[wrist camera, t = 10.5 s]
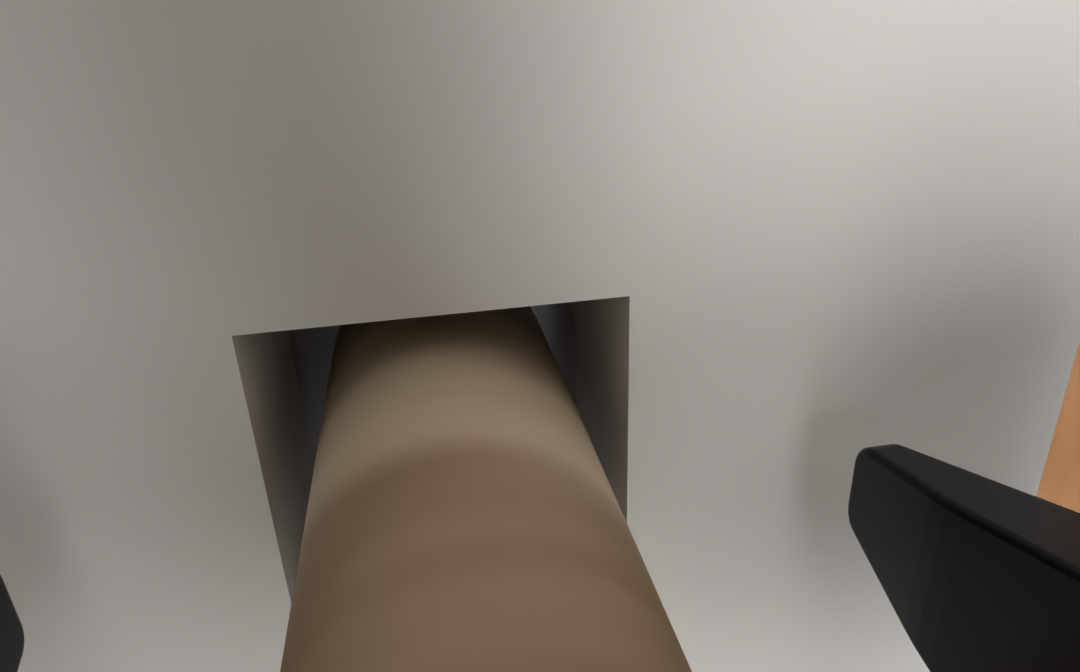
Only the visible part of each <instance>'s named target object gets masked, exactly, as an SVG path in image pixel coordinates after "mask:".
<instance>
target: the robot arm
mask: <svg viewBox="0 0 1080 672" xmlns="http://www.w3.org/2000/svg"><path fill="white" fill-rule="evenodd" d="M848 516H849V522H850V525H851V528H852V530H853V532H854V534H855V536H856V538H857V540H858V542H859V544H860V545H861V547H862V549H863V551H864V553H865V555H866V557H867V559H868V561H869V563H870V565H871V566H872V568H873V570H874V572H875V574H876V576H877V578H878V580H879V582H880V584H881V586H882V587H883V589H884V591H885V593H886V595H887V597H888V599H889V601H890V603H891V605H892V607H893V608H894V610H895V612H896V614H897V616H898V618H899V620H900V622H901V624H902V626H903V628H904V629H905V631H906V633H907V635H908V636H909V638H910V640H911V642H912V643H913V645H914V647H915V649H916V650H917V652H918V653H919V655H920V657H921V658H922V660H923V661H924V663H925V665H926V666H927V668H928V669H929V671H930V672H1080V513H1078V512H1075V511H1073V510H1070V509H1067V508H1065V507H1062V506H1059V505H1057V504H1054V503H1052V502H1049V501H1046V500H1044V499H1041V498H1038V497H1036V496H1033V495H1030V494H1028V493H1025V492H1023V491H1020V490H1017V489H1015V488H1012V487H1009V486H1007V485H1004V484H1002V483H999V482H996V481H994V480H991V479H988V478H986V477H983V476H981V475H978V474H975V473H973V472H970V471H967V470H965V469H962V468H960V467H957V466H954V465H952V464H949V463H946V462H944V461H941V460H938V459H936V458H933V457H931V456H928V455H925V454H923V453H920V452H917V451H915V450H912V449H910V448H907V447H904V446H902V445H898V444H887V445H880V446H873V447H866V448H864V449H862V450H861V451H860V452H859V453H858V455H857V456H856V460H855V465H854V472H853V478H852V484H851V491H850V497H849V504H848ZM23 650H24V631H23V627H22V624H21V621H20V619H19V617H18V614H17V612H16V609H15V607H14V605H13V602H12V600H11V597H10V595H9V593H8V590H7V588H6V586H5V583H4V581H3V578H2V577H1V575H0V672H17V671H18V668H19V665H20V662H21V658H22V655H23Z"/></svg>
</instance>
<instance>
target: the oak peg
mask: <svg viewBox="0 0 1080 672" xmlns="http://www.w3.org/2000/svg"><path fill="white" fill-rule="evenodd" d="M280 672H692V671H691V668H690V666H689V664H688V662H687V659H686V657H685V655H684V652H683V650H682V648H681V646H680V643H679V641H678V639H677V637H676V634H675V632H674V630H673V627H672V625H671V623H670V621H669V618H668V616H667V614H666V611H665V609H664V607H663V605H662V602H661V600H660V598H659V595H658V593H657V591H656V589H655V586H654V584H653V582H652V579H651V577H650V575H649V573H648V570H647V568H646V566H645V564H644V561H643V559H642V557H641V554H640V552H639V550H638V548H637V545H636V543H635V541H634V538H633V536H632V534H631V532H630V529H629V527H628V525H627V522H626V520H625V518H624V516H623V513H622V511H621V509H620V506H619V504H618V502H617V500H616V497H615V495H614V493H613V491H612V488H611V486H610V484H609V481H608V479H607V477H606V475H605V472H604V470H603V468H602V465H601V463H600V461H599V459H598V456H597V454H596V452H595V449H594V447H593V445H592V443H591V440H590V438H589V436H588V433H587V431H586V429H585V427H584V424H583V422H582V420H581V418H580V415H579V413H578V411H577V408H576V406H575V404H574V402H573V399H572V397H571V395H570V392H569V390H568V388H567V386H566V383H565V381H564V379H563V376H562V374H561V372H560V370H559V367H558V365H557V363H556V360H555V358H554V356H553V354H552V351H551V349H550V347H549V345H548V342H547V340H546V338H545V335H544V333H543V331H542V329H541V326H540V324H539V322H538V319H537V317H536V315H535V314H534V312H533V310H532V309H531V307H530V306H526V307H516V308H506V309H496V310H486V311H476V312H466V313H456V314H446V315H436V316H426V317H416V318H406V319H396V320H386V321H376V322H366V323H356V324H346V325H341V326H340V329H339V331H338V334H337V337H336V341H335V346H334V351H333V357H332V363H331V369H330V375H329V381H328V387H327V393H326V399H325V405H324V411H323V417H322V423H321V429H320V435H319V441H318V447H317V453H316V459H315V465H314V471H313V477H312V483H311V489H310V495H309V501H308V507H307V513H306V519H305V525H304V531H303V537H302V543H301V549H300V555H299V561H298V567H297V573H296V579H295V585H294V591H293V597H292V603H291V609H290V615H289V621H288V627H287V633H286V639H285V645H284V651H283V657H282V663H281V669H280Z"/></svg>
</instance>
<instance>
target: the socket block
mask: <svg viewBox="0 0 1080 672" xmlns="http://www.w3.org/2000/svg"><path fill="white" fill-rule="evenodd" d="M526 306H530V307H531V309H532V310H533V312H534V314H535V315H536V317H537V319H538V322H539V324H540V326H541V329H542V331H543V333H544V335H545V338H546V340H547V342H548V345H549V347H550V349H551V351H552V354H553V356H554V358H555V360H556V363H557V365H558V367H559V370H560V372H561V374H562V376H563V379H564V381H565V383H566V386H567V388H568V390H569V392H570V395H571V397H572V399H573V402H574V404H575V406H576V408H577V411H578V413H579V415H580V418H581V420H582V422H583V424H584V427H585V429H586V431H587V433H588V436H589V438H590V440H591V443H592V445H593V447H594V449H595V452H596V454H597V456H598V459H599V461H600V463H601V465H602V468H603V470H604V472H605V475H606V477H607V479H608V481H609V484H610V486H611V488H612V491H613V493H614V495H615V497H616V500H617V502H618V504H619V506H620V509H621V511H622V513H623V516H624V518H625V520H626V522H627V525H628V527H629V529H630V532H631V534H632V536H633V538H634V541H635V543H636V545H637V548H638V550H639V552H640V554H641V557H642V559H643V561H644V564H645V566H646V568H647V570H648V573H649V575H650V577H651V579H652V582H653V584H654V586H655V589H656V591H657V593H658V595H659V598H660V600H661V602H662V605H663V607H664V609H665V611H666V614H667V616H668V618H669V621H670V623H671V625H672V627H673V630H674V632H675V634H676V637H677V639H678V641H679V643H680V646H681V648H682V650H683V652H684V655H685V657H686V659H687V662H688V664H689V666H690V668H691V671H692V672H930V671H929V669H928V668H927V666H926V665H925V663H924V661H923V660H922V658H921V657H920V655H919V653H918V652H917V650H916V649H915V647H914V645H913V643H912V642H911V640H910V638H909V636H908V635H907V633H906V631H905V629H904V628H903V626H902V624H901V622H900V620H899V618H898V616H897V614H896V612H895V610H894V608H893V607H892V605H891V603H890V601H889V599H888V597H887V595H886V593H885V591H884V589H883V587H882V586H881V584H880V582H879V580H878V578H877V576H876V574H875V572H874V570H873V568H872V566H871V565H870V563H869V561H868V559H867V557H866V555H865V553H864V551H863V549H862V547H861V545H860V544H859V542H858V540H857V538H856V536H855V534H854V532H853V530H852V528H851V525H850V522H849V516H848V504H849V497H850V491H851V484H852V478H853V472H854V465H855V460H856V456H857V455H858V453H859V452H860V451H861V450H862V449H864V448H866V447H873V446H880V445H887V444H898V445H902V446H904V447H907V448H910V449H912V450H915V451H917V452H920V453H923V454H925V455H928V456H931V457H933V458H936V459H938V460H941V461H944V462H946V463H949V464H952V465H954V466H957V467H960V468H962V469H965V470H967V471H970V472H973V473H975V474H978V475H981V476H983V477H986V478H988V479H991V480H994V481H996V482H999V483H1002V484H1004V485H1007V486H1009V487H1012V488H1015V489H1017V490H1020V491H1023V492H1025V493H1028V494H1030V495H1033V496H1036V495H1037V491H1038V488H1039V484H1040V481H1041V477H1042V473H1043V470H1044V466H1045V463H1046V459H1047V455H1048V452H1049V448H1050V445H1051V441H1052V438H1053V434H1054V430H1055V427H1056V423H1057V420H1058V416H1059V413H1060V409H1061V405H1062V402H1063V398H1064V395H1065V391H1066V388H1067V384H1068V380H1069V377H1070V373H1071V370H1072V366H1073V363H1074V359H1075V355H1076V352H1077V348H1078V345H1079V341H1080V0H0V575H1V577H2V578H3V581H4V583H5V586H6V588H7V590H8V593H9V595H10V597H11V600H12V602H13V605H14V607H15V609H16V612H17V614H18V617H19V619H20V621H21V624H22V627H23V631H24V650H23V655H22V658H21V662H20V665H19V668H18V671H17V672H280V669H281V663H282V657H283V651H284V645H285V639H286V633H287V627H288V621H289V615H290V609H291V603H292V597H293V591H294V585H295V579H296V573H297V567H298V561H299V555H300V549H301V543H302V537H303V531H304V525H305V519H306V513H307V507H308V501H309V495H310V489H311V483H312V477H313V471H314V465H315V459H316V453H317V447H318V441H319V435H320V429H321V423H322V417H323V411H324V405H325V399H326V393H327V387H328V381H329V375H330V369H331V363H332V357H333V351H334V346H335V341H336V337H337V334H338V331H339V329H340V326H341V325H346V324H356V323H366V322H376V321H386V320H396V319H406V318H416V317H426V316H436V315H446V314H456V313H466V312H476V311H486V310H496V309H506V308H516V307H526Z"/></svg>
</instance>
